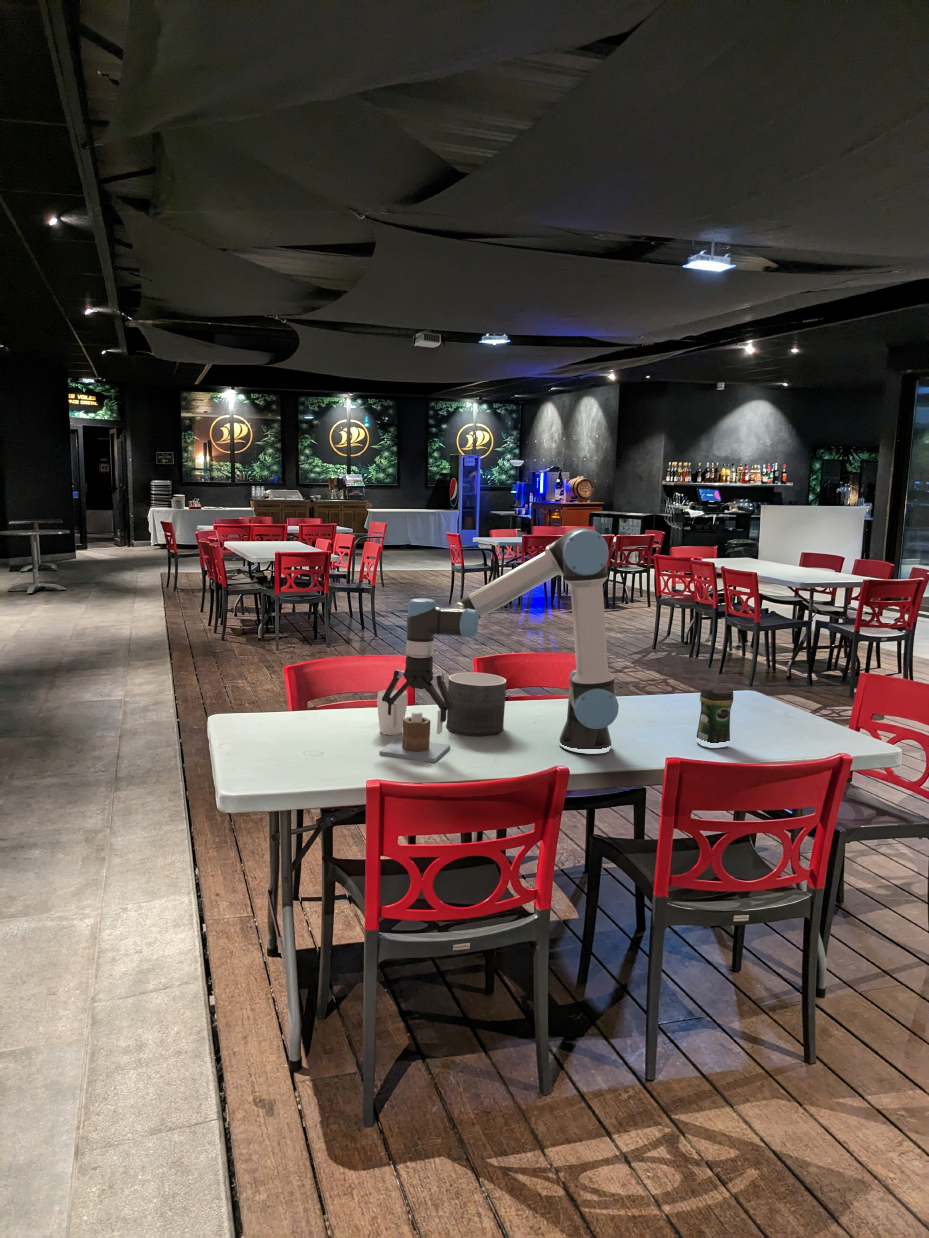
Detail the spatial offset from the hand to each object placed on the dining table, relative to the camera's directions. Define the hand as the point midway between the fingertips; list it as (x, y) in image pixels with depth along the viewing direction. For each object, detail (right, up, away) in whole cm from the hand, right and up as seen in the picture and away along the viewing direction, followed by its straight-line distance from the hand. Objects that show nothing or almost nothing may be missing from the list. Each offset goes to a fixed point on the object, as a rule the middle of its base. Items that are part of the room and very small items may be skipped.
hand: (416, 729), depth 238 cm
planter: (+17, -3, +27) cm, 32 cm away
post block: (0, -6, +1) cm, 6 cm away
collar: (0, -5, +1) cm, 5 cm away
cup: (-9, -3, +19) cm, 21 cm away
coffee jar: (+89, -8, +21) cm, 92 cm away
